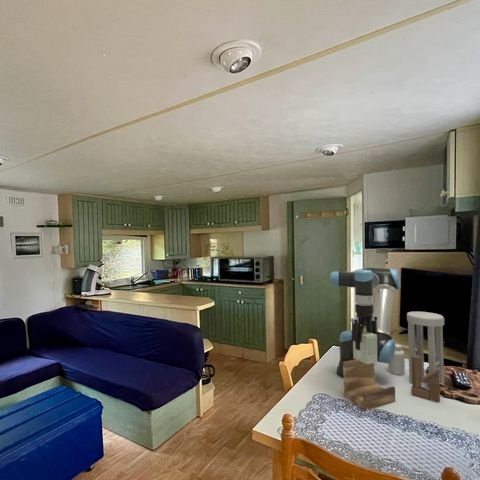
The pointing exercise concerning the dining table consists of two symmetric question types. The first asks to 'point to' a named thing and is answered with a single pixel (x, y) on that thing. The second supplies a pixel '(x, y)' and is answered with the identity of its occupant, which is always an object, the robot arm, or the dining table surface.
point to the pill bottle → (397, 361)
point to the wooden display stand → (364, 386)
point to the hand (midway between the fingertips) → (364, 355)
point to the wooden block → (424, 381)
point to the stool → (433, 356)
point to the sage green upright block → (367, 348)
